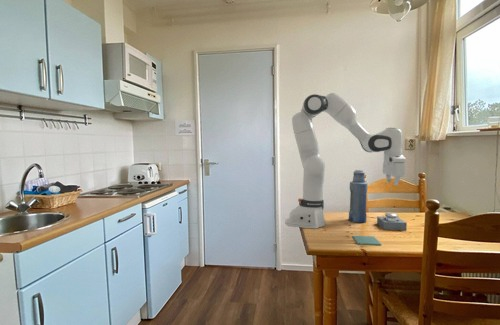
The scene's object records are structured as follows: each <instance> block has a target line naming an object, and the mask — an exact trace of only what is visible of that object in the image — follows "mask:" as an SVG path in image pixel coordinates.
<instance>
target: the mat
mask: <svg viewBox="0 0 500 325" xmlns="http://www.w3.org/2000/svg"><path fill="white" fill-rule="evenodd" d="M352 238H353V240H354V241H355V242H356V244H358V245H362V246H363V245H366V246H367V245H368V246H382V243H381V242H380V241H379V240H378V239H377V238H376V237H375V236H371V235H370V236H369V235H352Z"/></svg>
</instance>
